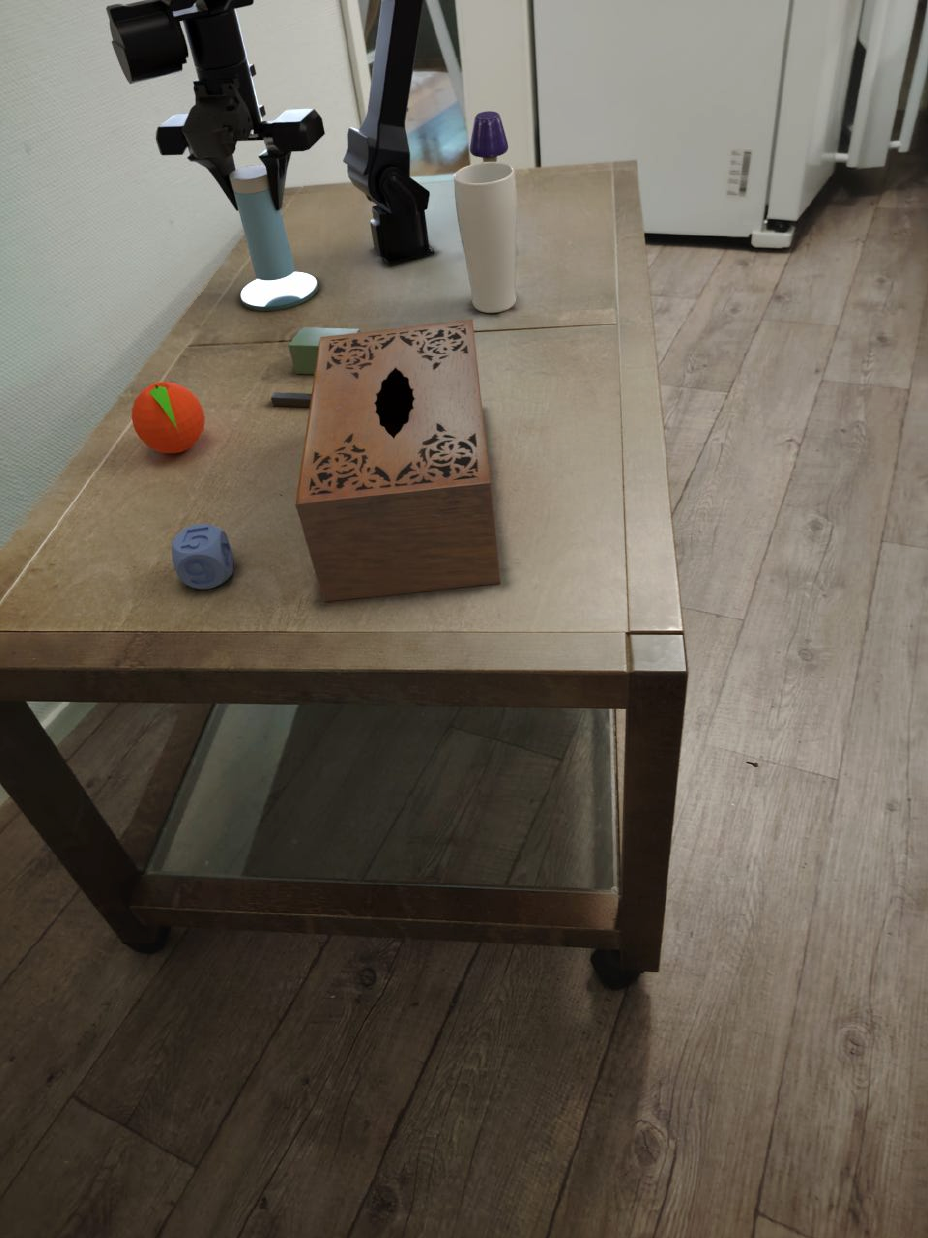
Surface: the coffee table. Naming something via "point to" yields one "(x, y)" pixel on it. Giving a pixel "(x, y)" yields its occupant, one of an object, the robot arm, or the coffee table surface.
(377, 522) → the tissue box cover
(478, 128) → the toy lamp
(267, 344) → the coffee table surface
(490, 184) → the drinking glass
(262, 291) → the coaster
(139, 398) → the clementine
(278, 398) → the cradle
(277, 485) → the coffee table surface
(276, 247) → the plastic bottle
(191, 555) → the decorative dice
